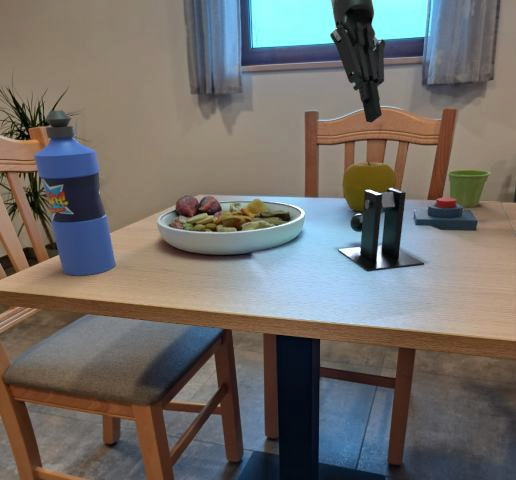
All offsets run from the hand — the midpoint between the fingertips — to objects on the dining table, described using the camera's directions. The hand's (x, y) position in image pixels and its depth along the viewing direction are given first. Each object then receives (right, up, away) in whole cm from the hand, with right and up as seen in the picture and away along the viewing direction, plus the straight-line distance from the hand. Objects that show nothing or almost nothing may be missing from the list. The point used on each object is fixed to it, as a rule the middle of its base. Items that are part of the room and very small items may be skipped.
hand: (374, 118), depth 89 cm
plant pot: (+28, -11, +25) cm, 39 cm away
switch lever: (-3, -23, -9) cm, 25 cm away
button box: (+18, -17, +12) cm, 28 cm away
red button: (+18, -14, +10) cm, 25 cm away
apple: (+5, -10, +28) cm, 30 cm away
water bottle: (-53, -30, -6) cm, 61 cm away
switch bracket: (-2, -30, -10) cm, 31 cm away
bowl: (-28, -22, +8) cm, 36 cm away
